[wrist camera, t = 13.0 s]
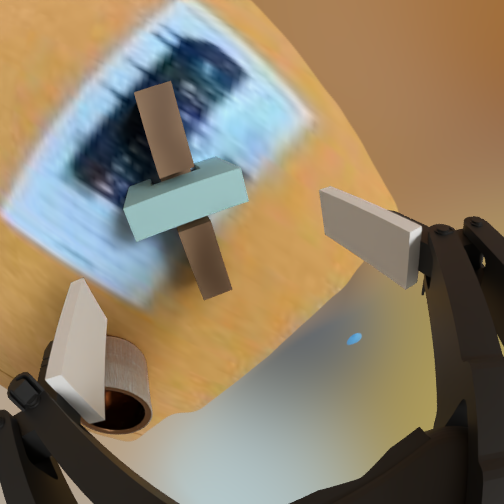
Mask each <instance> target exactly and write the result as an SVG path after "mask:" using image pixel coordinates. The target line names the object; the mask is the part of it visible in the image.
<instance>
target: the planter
mask: <svg viewBox="0 0 504 504" xmlns="http://www.w3.org/2000/svg"><path fill="white" fill-rule="evenodd" d="M104 399H105V420H103V421H99V422H95V423H91V424H89V423H88V422H87V421H86V420H85V419H83V418H82V417H81V421H80V423H82V424H83V425H85V426H86V427H88V428H90V429H92V430H95V431H98V432H102V433H107V434H128V433H133V432H136V431H139V430H141V429H142V428H144V427H145V426H147V425H148V424H149V422H150V421H151V419H152V406H151V399H150V391H149V381H148V371H147V363H146V360H145V357H144V355H143V354H142V352H141V351H140V350H139V349H138V348H137V347H136V346H135V345H133V344H132V343H130V342H129V341H126V340H124V339H121V338H118V337H113V336H106V346H105V378H104Z"/></svg>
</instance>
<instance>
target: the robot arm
mask: <svg viewBox="0 0 504 504" xmlns="http://www.w3.org/2000/svg"><path fill="white" fill-rule="evenodd" d="M319 193H320V200H321V208H322V215H323V223H324V231H325V235H327V236H328V237H330V238H331V239H333V240H334V241H336V242H337V243H339V244H340V245H342V246H343V247H345V248H346V249H348V250H349V251H351V252H352V253H354V254H355V255H357V256H358V257H360V258H361V259H363V260H364V261H366V262H367V263H369V264H370V265H372V266H373V267H374V268H376V269H377V270H379V271H380V272H381V273H383V274H384V275H386V276H387V277H389V278H390V279H391V280H393V281H394V282H396V283H397V284H398V285H400V286H401V287H403V288H404V289H405V290H406V289H407V288H409V287H411V286H412V285H414V284H415V283H417V278H418V270H419V271H420V272H422V273H423V274H424V280H423V288H422V295H424V292H426V298H427V304H428V310H429V317H430V323H431V331H432V339H433V348H434V358H435V371H436V387H437V414H436V418H435V422H434V428H433V429H431V430H428V431H425V432H424V431H423V430H422V429H421V428H420V427H418V428H417V429H416V430H414V431H413V432H412V433H411V434H409V435H408V436H407V437H405V438H404V439H402V440H401V441H400V442H398V443H397V444H396V445H394V446H393V447H391V448H390V449H389V450H388V451H387V452H386V453H385V454H384V456H383V457H382V458H381V459H380V460H379V461H378V462H377V463H376V464H375V465H374V466H373V467H372V468H371V469H370V470H369V471H368V472H367V473H366V474H365V475H364V476H363V477H361V478H359V479H357V480H354V481H350V482H347V483H344V484H340V485H337V486H333V487H330V488H326V489H322V490H318V491H316V492H314V493H312V494H310V495H308V496H305V497H303V498H301V499H299V500H296V501H294V502H292V503H290V504H504V357H503V355H502V351H501V348H500V344H499V341H498V337H497V335H498V336H499V338H500V340H501V342H502V344H503V346H504V237H503V236H502V235H501V234H500V233H499V232H498V231H496V230H495V229H494V228H493V227H492V226H491V225H490V224H489V223H488V222H487V221H485V220H484V219H481V218H480V217H475V216H473V217H467V218H465V219H464V226H463V229H459V230H455V229H454V228H452V227H450V226H448V225H444V224H436V225H433V226H430V227H428V226H426V225H424V224H422V223H419V222H417V221H415V220H413V219H410V218H409V217H407V216H404V215H402V214H400V213H398V212H395V211H390V210H386V209H384V208H382V207H379V206H377V205H375V204H372V203H370V202H368V201H365V200H363V199H361V198H358V197H356V196H354V195H351V194H349V193H346V192H344V191H341V190H339V189H336V188H334V187H331V186H329V187H326V188H323V189H320V190H319ZM483 257H485V262H486V265H485V266H484V265H483V264H482V262H483ZM106 330H107V318H106V316H105V315H104V313H103V311H102V310H101V308H100V306H99V305H98V303H97V301H96V300H95V298H94V296H93V294H92V293H91V291H90V289H89V287H88V285H87V284H86V282H85V280H84V278H81V279H78V280H76V281H74V282H71V284H70V287H69V290H68V293H67V296H66V300H65V303H64V306H63V309H62V313H61V316H60V319H59V323H58V326H57V330H56V334H55V338H54V341H51V342H50V343H49V344H48V346H47V348H46V349H45V352H44V356H43V361H42V364H41V368H40V372H39V377H38V382H37V381H36V380H35V379H34V378H33V377H32V376H31V374H29V373H28V372H23V373H21V374H19V375H18V376H16V377H15V378H14V379H13V380H12V382H11V383H10V385H9V387H8V392H7V394H8V398H9V399H10V400H11V401H12V402H13V403H14V404H15V405H16V406H17V407H18V408H20V409H21V410H22V411H21V412H19V413H18V414H16V415H14V416H12V415H11V414H10V413H9V412H8V411H6V410H0V483H1V486H2V490H3V493H4V497H5V500H6V503H7V504H78V503H77V501H76V499H75V498H74V496H73V494H72V492H71V490H70V488H69V486H68V484H67V482H66V480H65V478H64V476H63V474H62V471H61V469H60V467H59V465H58V464H60V466H61V467H62V469H63V470H64V471H65V472H66V473H67V475H68V476H69V477H70V478H71V479H72V480H73V482H74V483H75V484H76V485H77V486H78V487H79V489H80V490H81V491H82V492H83V493H84V494H85V495H86V496H87V497H88V498H89V499H90V500H91V501H92V502H93V503H94V504H179V503H177V502H176V501H174V500H173V499H171V498H170V497H168V496H167V495H165V494H164V493H162V492H161V491H160V490H158V489H157V488H155V487H154V486H152V485H151V484H150V483H148V482H147V481H146V480H144V479H143V478H142V477H140V476H139V475H138V474H136V473H135V472H134V471H132V470H131V469H130V468H129V467H128V466H126V465H125V464H124V463H123V462H121V461H120V460H119V459H118V458H117V457H116V456H114V455H113V454H112V453H111V452H110V451H109V450H108V449H107V448H105V447H104V446H103V445H102V444H101V443H100V442H99V441H98V440H97V439H96V438H95V437H93V435H91V434H90V433H89V432H88V431H87V430H86V429H85V428H84V427H83V426H82V425H81V424H80V421H81V417H82V418H83V419H85V420H86V421H87V422H88V423H89V424H91V423H95V422H99V421H103V420H105V399H104V378H105V346H106Z"/></svg>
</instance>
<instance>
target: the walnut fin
mask: <svg viewBox="0 0 504 504" xmlns="http://www.w3.org/2000/svg"><path fill="white" fill-rule="evenodd" d="M134 94H135V98H136V101H137V105H138V109H139V112H140V116H141V119H142V123H143V126H144V129H145V133H146V136H147V140H148V143H149V146H150V149H151V153H152V156H153V159H154V162H155V166H156V169H157V172H158V175H159V178H160V180H161V182H163V181H165V180H168V179H171V178H174V177H177V176H180V175H183V174H185V173H188V172H191V170H190V168H192V167H194V163H193V160H192V156H191V153H190V149H189V146H188V142H187V139H186V135H185V131H184V128H183V124H182V121H181V117H180V113H179V110H178V106H177V102H176V99H175V95H174V91H173V87H172V84H171V81H169V82H166V83H162V84H159V85H156V86H153V87H150V88H146V89H143V90H140V91H137V92H135V93H134ZM177 230H178V233H179V236H180V239H181V242H182V244H183V247H184V250H185V253H186V255H187V258H188V261H189V263H190V266H191V268H192V271H193V274H194V276H195V279H196V281H197V284H198V286H199V289H200V292H201V294H202V297H203V299H204V300H206V299H209V298H212V297H214V296H217V295H219V294H222V293H224V292H227V291H230V290H232V287H231V284H230V281H229V277H228V274H227V271H226V268H225V265H224V262H223V259H222V256H221V252H220V249H219V246H218V243H217V240H216V236H215V233H214V230H213V227H212V223H211V221H210V219H209V218H208V216H205V217H202V218H199V219H196V220H193V221H191V222H188V223H185V224H182V225H180V226H177Z"/></svg>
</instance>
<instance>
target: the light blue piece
mask: <svg viewBox="0 0 504 504" xmlns="http://www.w3.org/2000/svg"><path fill="white" fill-rule="evenodd" d="M194 165H195V168H196V170H194V171H191V172H188V173H185V174H183V175H180V176H177V177H174V178H171V179H168V180H165V181H163V182H160V183H157V184H154V185H152V182H151V179H148V180H146V181H143V182H141V183H138V184H135V185H133V186H130V187H129V189H128V193H127V196H126V200H125V204H124V208H123V210H124V212H125V215H126V217H127V220H128V223H129V225H130V227H131V230H132V232H133V235H134V237H135V240H136V242H138V241H140V240H143V239H145V238H148V237H151V236H153V235H156V234H158V233H161V232H164V231H166V230H169V229H172V228H174V227H177V226H180V225H182V224H185V223H188V222H191V221H193V220H196V219H199V218H202V217H205V216H207V215H210V214H213V213H216V212H219V211H222V210H224V209H227V208H230V207H233V206H236V205H239V204H242V203H245V202H248V201H249V200H248V196H247V192H246V188H245V184H244V180H243V176H242V172H241V168H240V167H238V166H236V165H233V164H231V163H229V162H227V161H225V160H222V159H220V158H218V157H213V158H210V159H207V160H203V161H200V162H197V163H194Z"/></svg>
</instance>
